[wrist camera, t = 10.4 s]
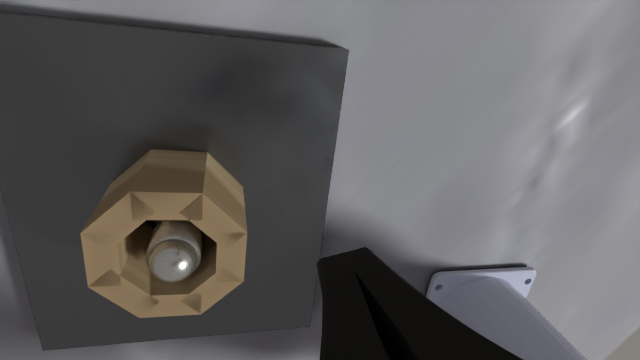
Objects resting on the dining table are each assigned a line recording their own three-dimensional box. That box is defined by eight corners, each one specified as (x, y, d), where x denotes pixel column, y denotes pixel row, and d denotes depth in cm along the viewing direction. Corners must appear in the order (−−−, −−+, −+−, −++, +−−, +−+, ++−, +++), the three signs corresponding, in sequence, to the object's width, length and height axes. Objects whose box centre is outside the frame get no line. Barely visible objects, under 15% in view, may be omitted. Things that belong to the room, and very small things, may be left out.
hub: (306, 314, 24) (326, 393, 19) (50, 334, 20) (-4, 439, 15) (342, 47, 17) (388, 66, 12) (-29, 8, 13) (-167, 12, 9)
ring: (265, 208, 18) (275, 257, 15) (181, 274, 19) (171, 337, 16) (179, 125, 16) (166, 161, 12) (84, 205, 16) (46, 262, 13)
